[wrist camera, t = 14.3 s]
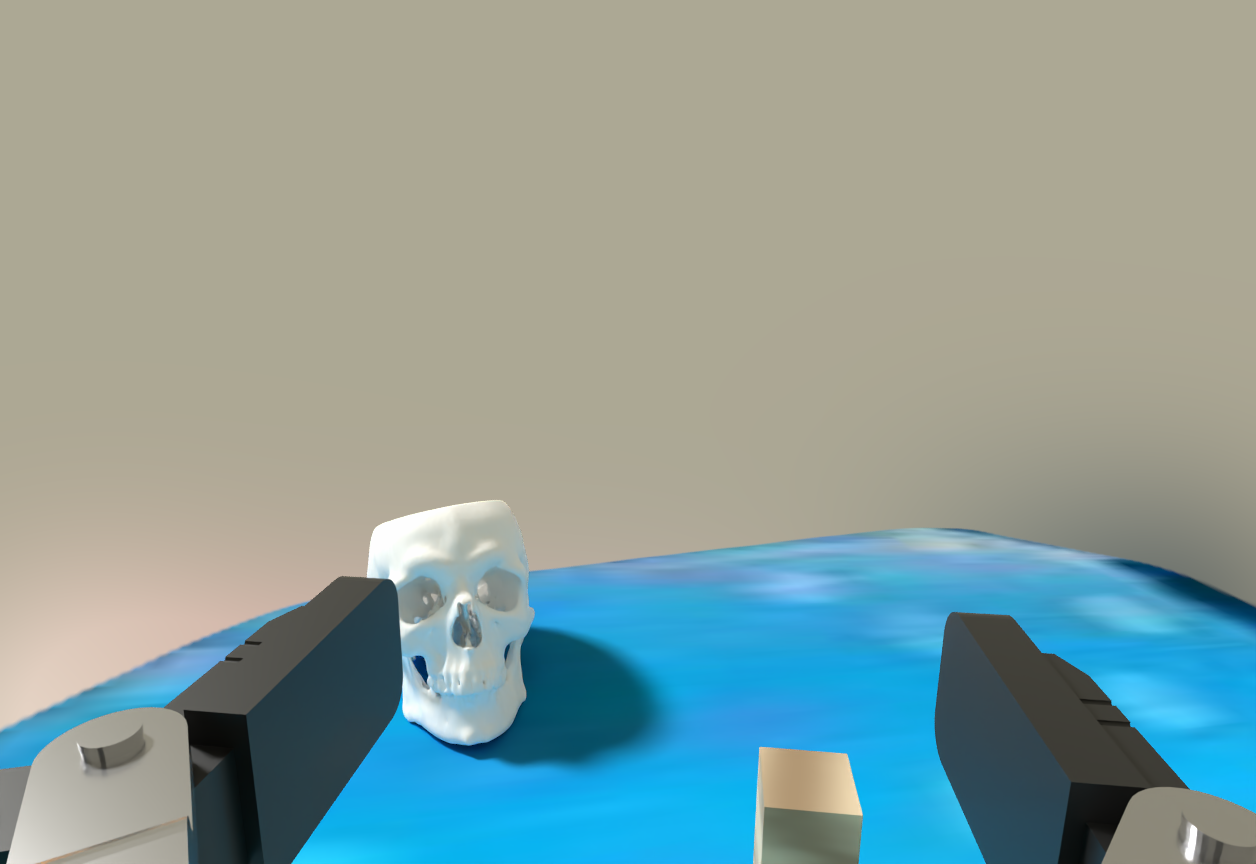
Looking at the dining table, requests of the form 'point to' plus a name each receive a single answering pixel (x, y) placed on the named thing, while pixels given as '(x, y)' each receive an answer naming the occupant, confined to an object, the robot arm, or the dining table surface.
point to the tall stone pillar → (806, 809)
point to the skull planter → (459, 615)
